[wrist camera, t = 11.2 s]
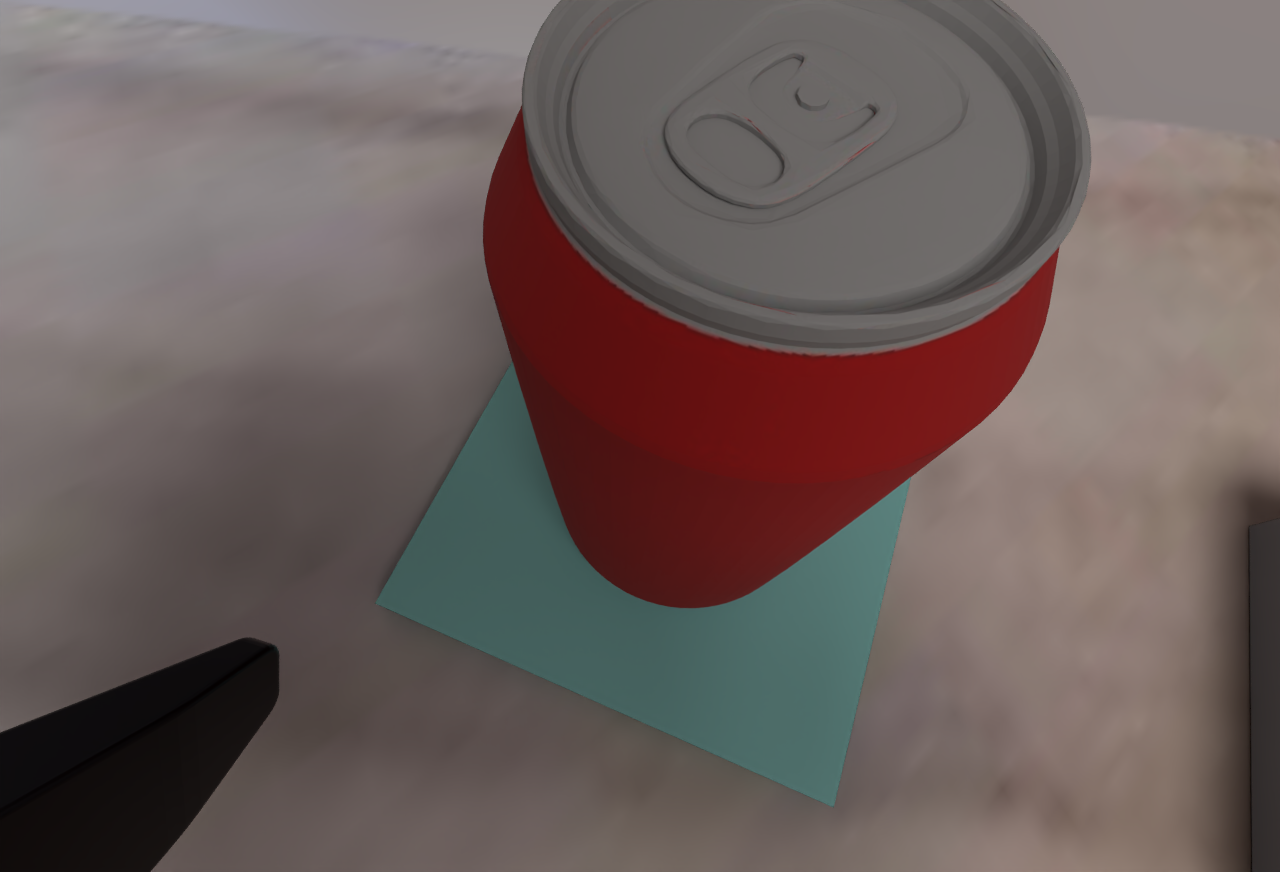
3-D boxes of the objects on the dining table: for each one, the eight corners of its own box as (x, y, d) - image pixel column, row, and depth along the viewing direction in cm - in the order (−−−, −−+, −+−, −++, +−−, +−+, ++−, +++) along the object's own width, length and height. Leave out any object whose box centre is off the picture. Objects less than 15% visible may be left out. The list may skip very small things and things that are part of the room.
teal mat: (825, 803, 14) (833, 807, 14) (383, 606, 16) (374, 603, 15) (924, 390, 19) (933, 381, 18) (573, 266, 20) (572, 254, 20)
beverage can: (853, 497, 17) (1305, 119, 6) (677, 673, 15) (852, 610, 4) (684, 340, 19) (782, -175, 8) (509, 478, 17) (295, 54, 6)
